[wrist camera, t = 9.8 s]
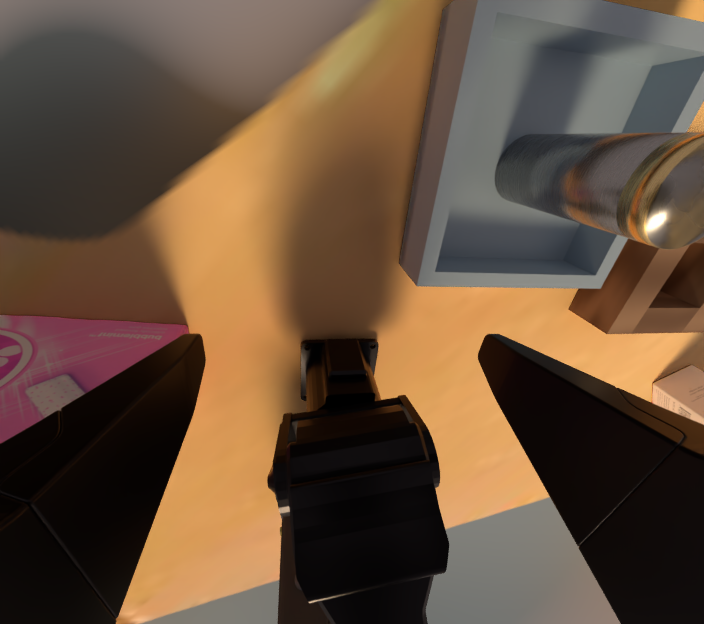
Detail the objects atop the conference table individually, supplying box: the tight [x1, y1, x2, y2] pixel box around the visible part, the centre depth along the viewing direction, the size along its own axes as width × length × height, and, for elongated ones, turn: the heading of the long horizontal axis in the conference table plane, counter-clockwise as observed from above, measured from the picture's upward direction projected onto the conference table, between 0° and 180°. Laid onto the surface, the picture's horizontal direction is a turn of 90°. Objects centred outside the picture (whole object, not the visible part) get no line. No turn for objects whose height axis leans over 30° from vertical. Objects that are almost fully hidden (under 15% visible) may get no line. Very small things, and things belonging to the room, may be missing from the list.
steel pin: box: [495, 132, 704, 250], centre depth 15 cm, size 4×4×10 cm
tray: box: [399, 0, 704, 289], centre depth 19 cm, size 14×14×4 cm
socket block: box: [569, 237, 704, 334], centre depth 24 cm, size 10×10×4 cm
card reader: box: [278, 516, 331, 624], centre depth 28 cm, size 9×4×15 cm, turn 178°
